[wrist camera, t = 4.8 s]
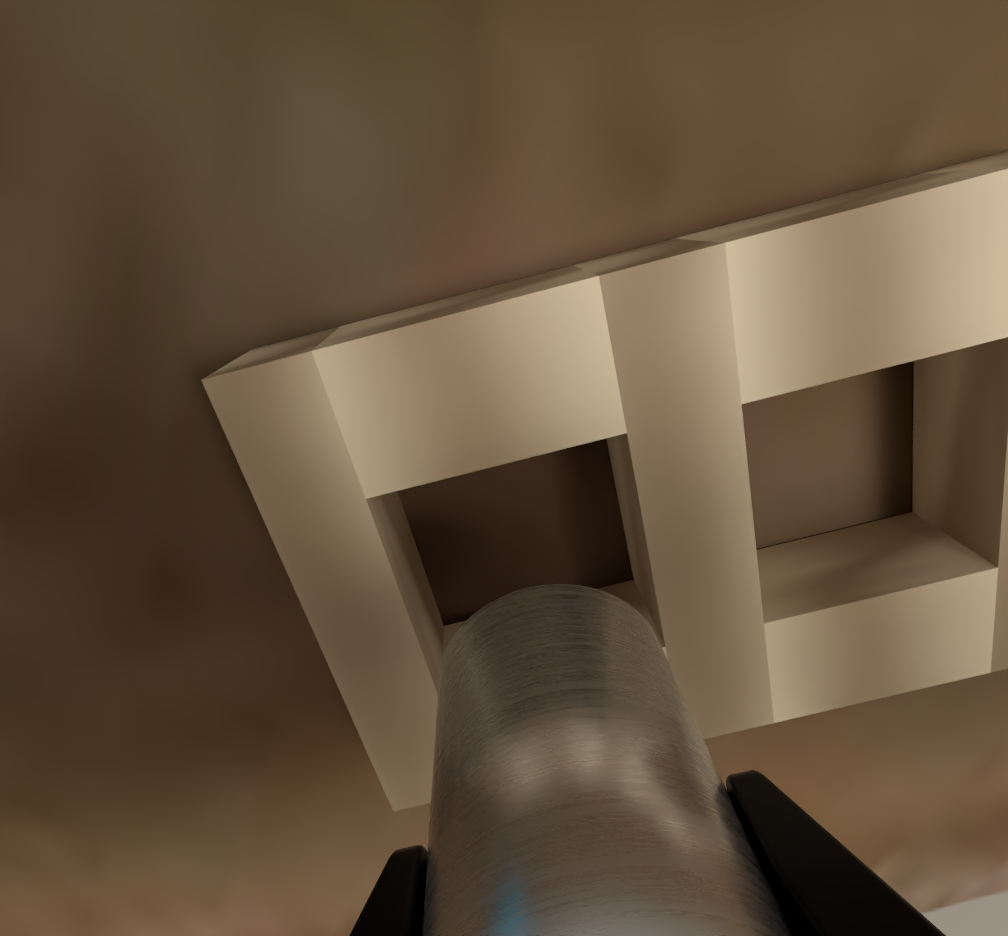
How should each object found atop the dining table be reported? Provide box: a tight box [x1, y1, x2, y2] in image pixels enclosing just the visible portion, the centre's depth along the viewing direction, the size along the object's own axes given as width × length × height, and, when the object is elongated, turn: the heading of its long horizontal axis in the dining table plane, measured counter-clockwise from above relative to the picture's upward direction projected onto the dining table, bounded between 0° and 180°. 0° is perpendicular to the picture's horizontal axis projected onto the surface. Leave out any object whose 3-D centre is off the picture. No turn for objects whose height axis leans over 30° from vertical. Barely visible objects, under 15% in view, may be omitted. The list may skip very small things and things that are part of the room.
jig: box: [201, 151, 1008, 812], centre depth 15 cm, size 18×12×3 cm, turn 104°
